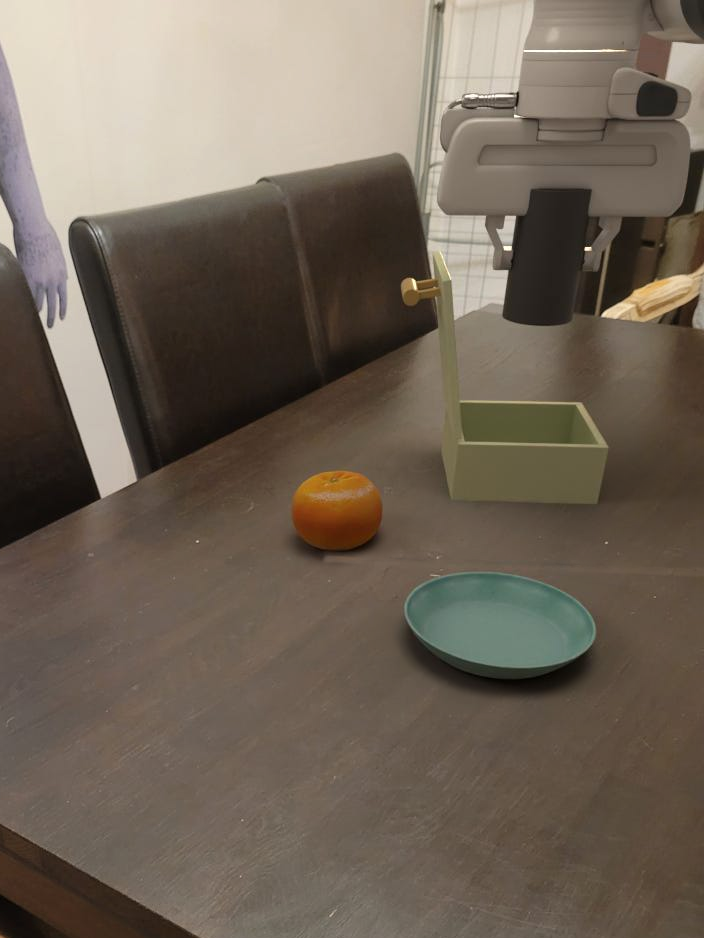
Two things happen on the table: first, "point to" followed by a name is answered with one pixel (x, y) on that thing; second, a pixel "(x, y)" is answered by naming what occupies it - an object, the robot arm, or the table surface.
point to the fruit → (337, 510)
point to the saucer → (499, 624)
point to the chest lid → (441, 332)
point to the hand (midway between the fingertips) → (544, 269)
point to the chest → (524, 453)
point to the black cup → (547, 257)
